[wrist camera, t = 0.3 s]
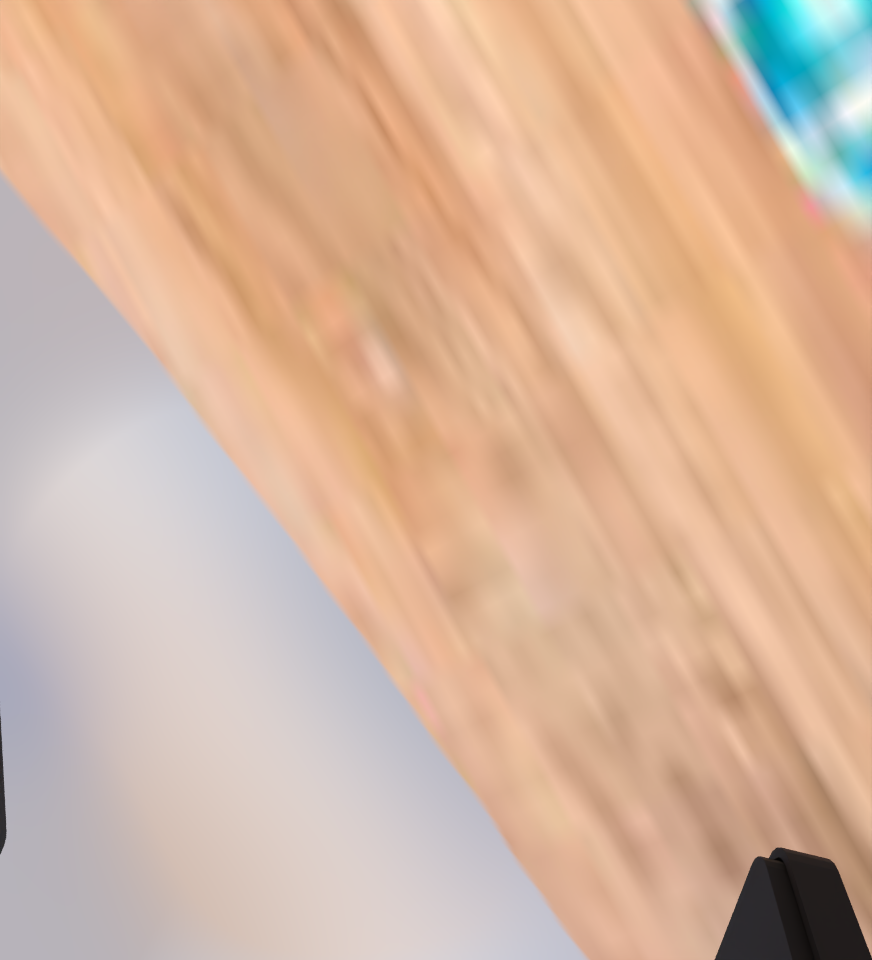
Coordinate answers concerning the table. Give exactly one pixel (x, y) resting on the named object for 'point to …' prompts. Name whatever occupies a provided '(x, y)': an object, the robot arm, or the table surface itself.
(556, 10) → the table surface
